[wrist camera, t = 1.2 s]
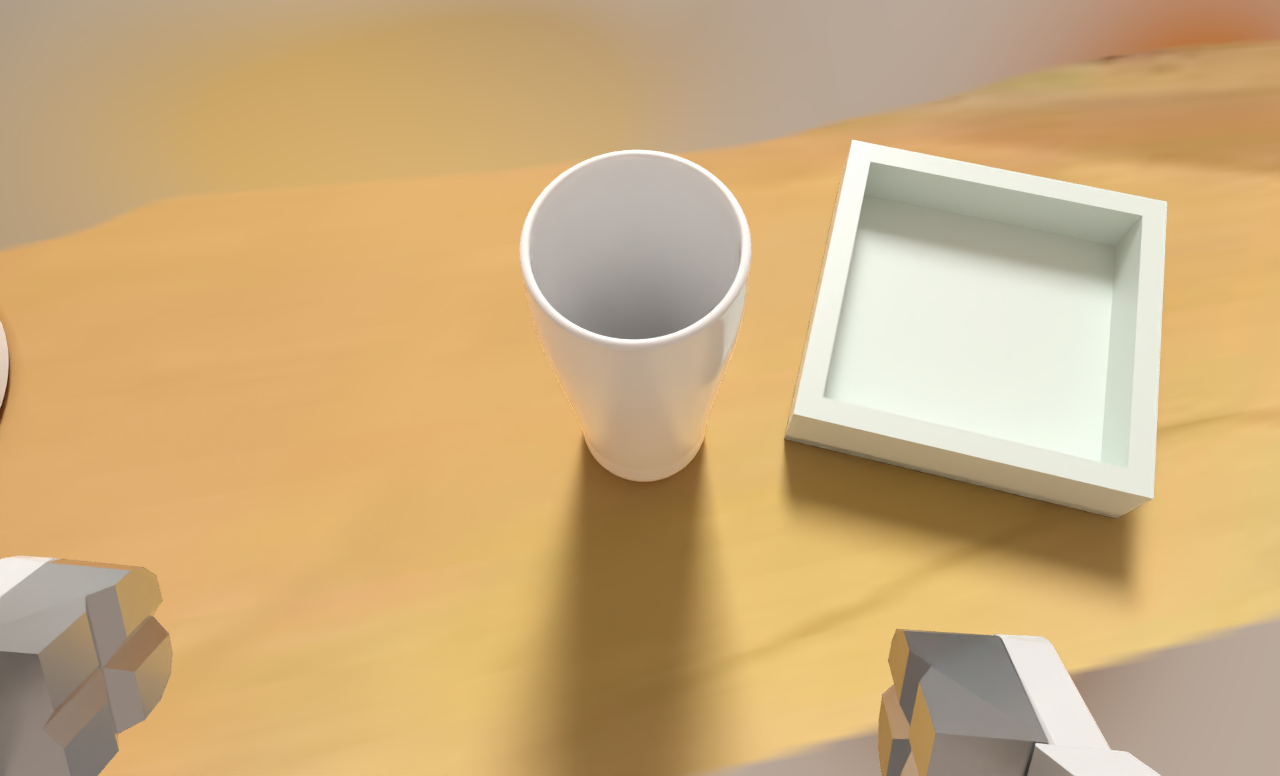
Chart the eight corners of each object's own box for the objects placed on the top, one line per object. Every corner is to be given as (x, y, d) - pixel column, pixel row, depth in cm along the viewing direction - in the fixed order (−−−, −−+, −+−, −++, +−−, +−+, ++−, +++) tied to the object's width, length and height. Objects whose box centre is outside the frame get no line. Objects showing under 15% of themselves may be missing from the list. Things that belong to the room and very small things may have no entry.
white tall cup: (558, 370, 40) (503, 163, 26) (705, 346, 40) (728, 129, 26) (578, 514, 37) (530, 369, 24) (736, 488, 38) (779, 328, 24)
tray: (783, 438, 38) (793, 413, 36) (840, 179, 44) (852, 139, 41) (1116, 518, 37) (1153, 498, 34) (1133, 238, 42) (1167, 201, 39)
